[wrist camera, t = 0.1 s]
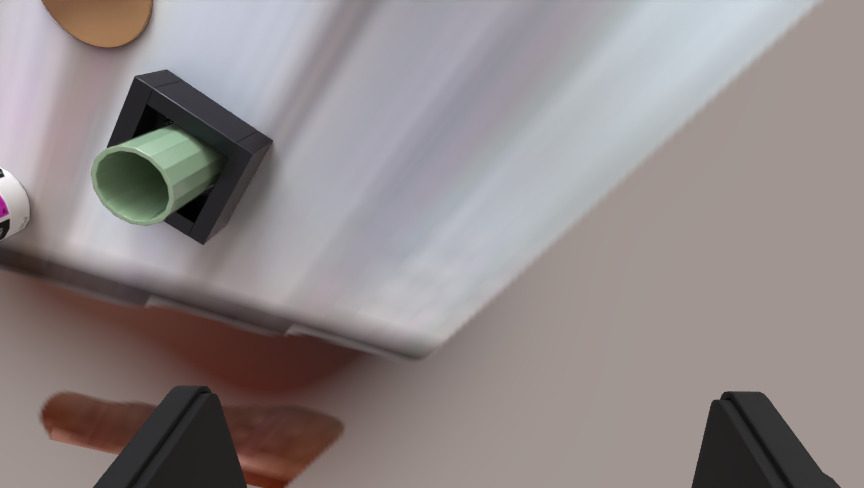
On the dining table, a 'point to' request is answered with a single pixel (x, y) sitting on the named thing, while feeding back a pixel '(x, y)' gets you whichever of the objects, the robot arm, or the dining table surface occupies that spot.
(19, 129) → the dining table surface
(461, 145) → the dining table surface
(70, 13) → the coaster
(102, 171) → the cup
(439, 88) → the dining table surface
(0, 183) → the supplement can
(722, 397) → the robot arm
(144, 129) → the black square frame
